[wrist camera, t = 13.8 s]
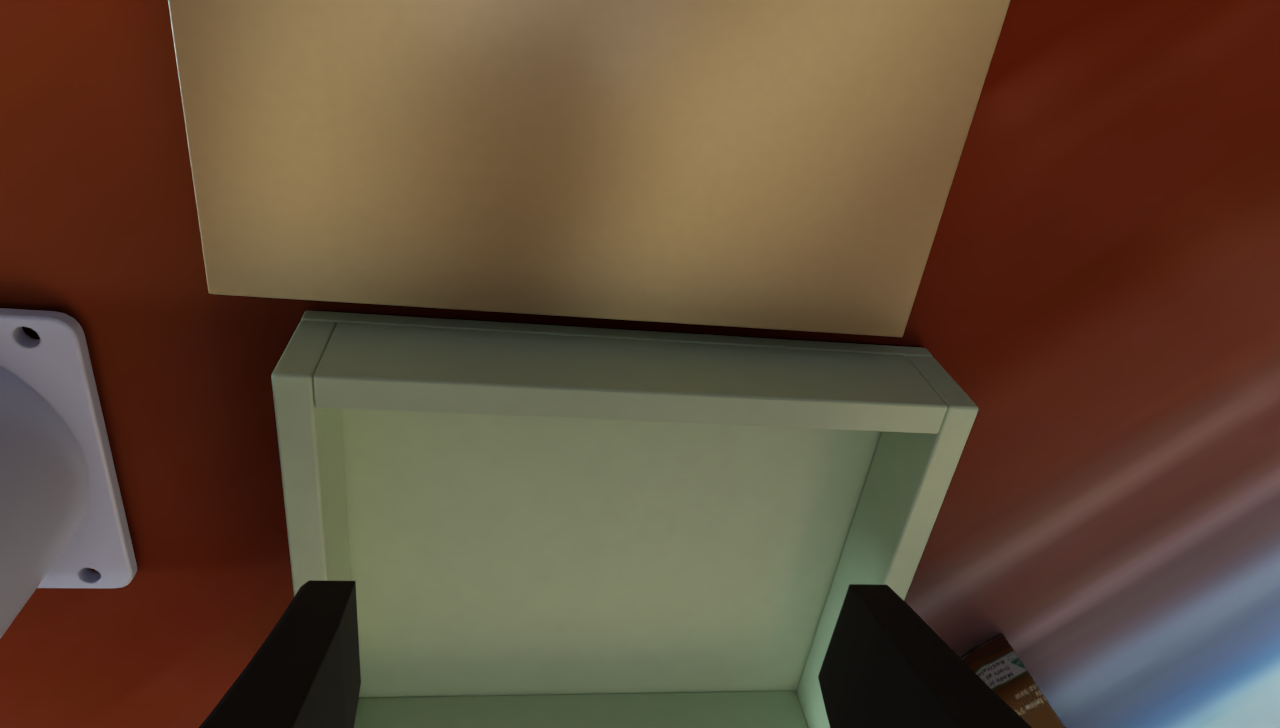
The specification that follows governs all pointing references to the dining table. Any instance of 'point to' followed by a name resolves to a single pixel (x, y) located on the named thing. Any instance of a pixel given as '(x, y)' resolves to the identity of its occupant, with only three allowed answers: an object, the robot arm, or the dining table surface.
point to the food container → (1012, 682)
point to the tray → (603, 512)
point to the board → (582, 153)
